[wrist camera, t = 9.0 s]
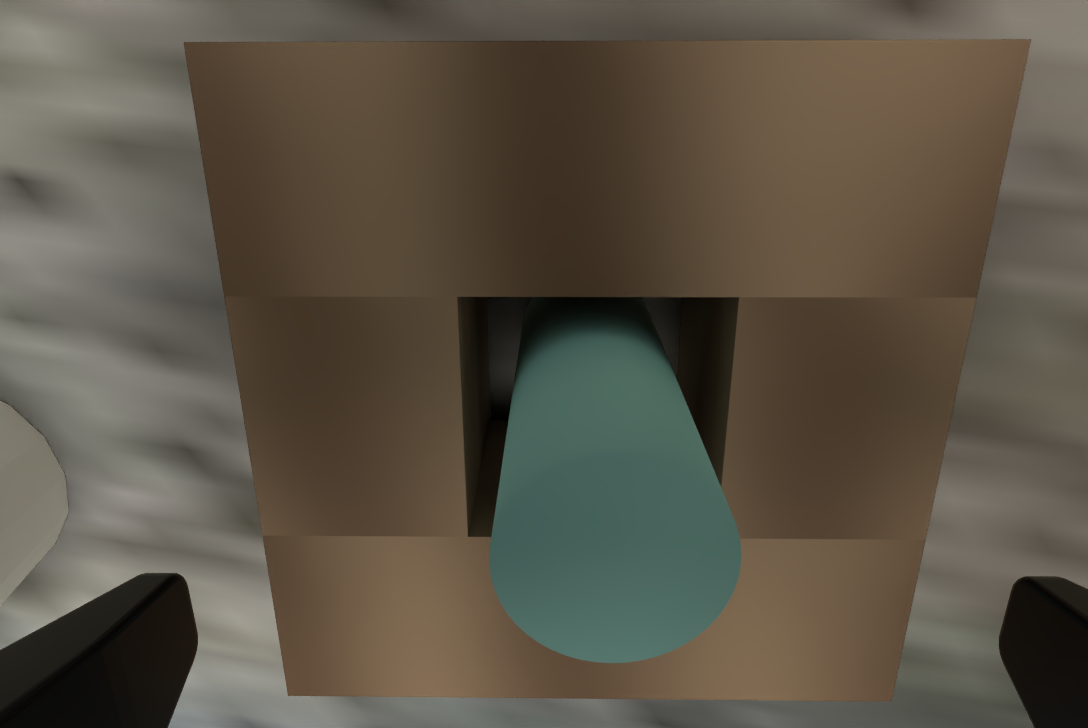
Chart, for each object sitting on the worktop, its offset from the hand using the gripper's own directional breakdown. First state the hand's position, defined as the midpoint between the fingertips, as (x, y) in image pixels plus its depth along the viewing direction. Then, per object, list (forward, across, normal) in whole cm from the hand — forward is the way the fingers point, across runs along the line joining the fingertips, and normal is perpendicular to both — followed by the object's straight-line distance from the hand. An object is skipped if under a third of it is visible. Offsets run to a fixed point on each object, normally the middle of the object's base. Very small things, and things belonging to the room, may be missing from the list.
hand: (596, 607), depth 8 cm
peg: (+10, 0, 0) cm, 10 cm away
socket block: (+10, 0, 0) cm, 10 cm away
